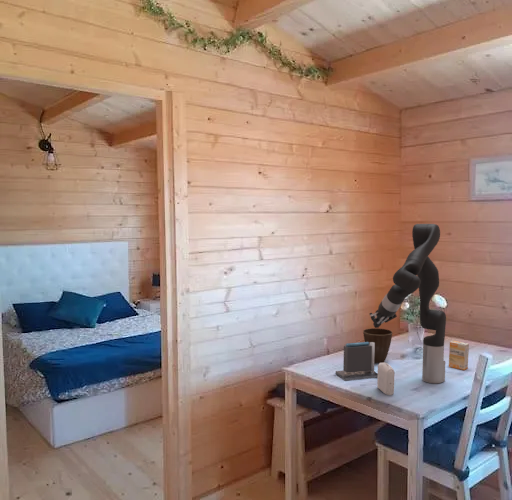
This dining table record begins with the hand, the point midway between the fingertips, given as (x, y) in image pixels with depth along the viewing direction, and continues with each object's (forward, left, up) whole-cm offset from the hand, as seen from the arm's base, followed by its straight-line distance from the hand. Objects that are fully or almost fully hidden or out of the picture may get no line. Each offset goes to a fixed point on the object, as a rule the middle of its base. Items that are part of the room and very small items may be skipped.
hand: (375, 326), depth 229 cm
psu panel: (0, -16, -28) cm, 32 cm away
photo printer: (-2, +7, -28) cm, 29 cm away
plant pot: (-20, -34, -28) cm, 48 cm away
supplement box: (-54, -13, -28) cm, 62 cm away
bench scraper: (-1, -16, -26) cm, 30 cm away
